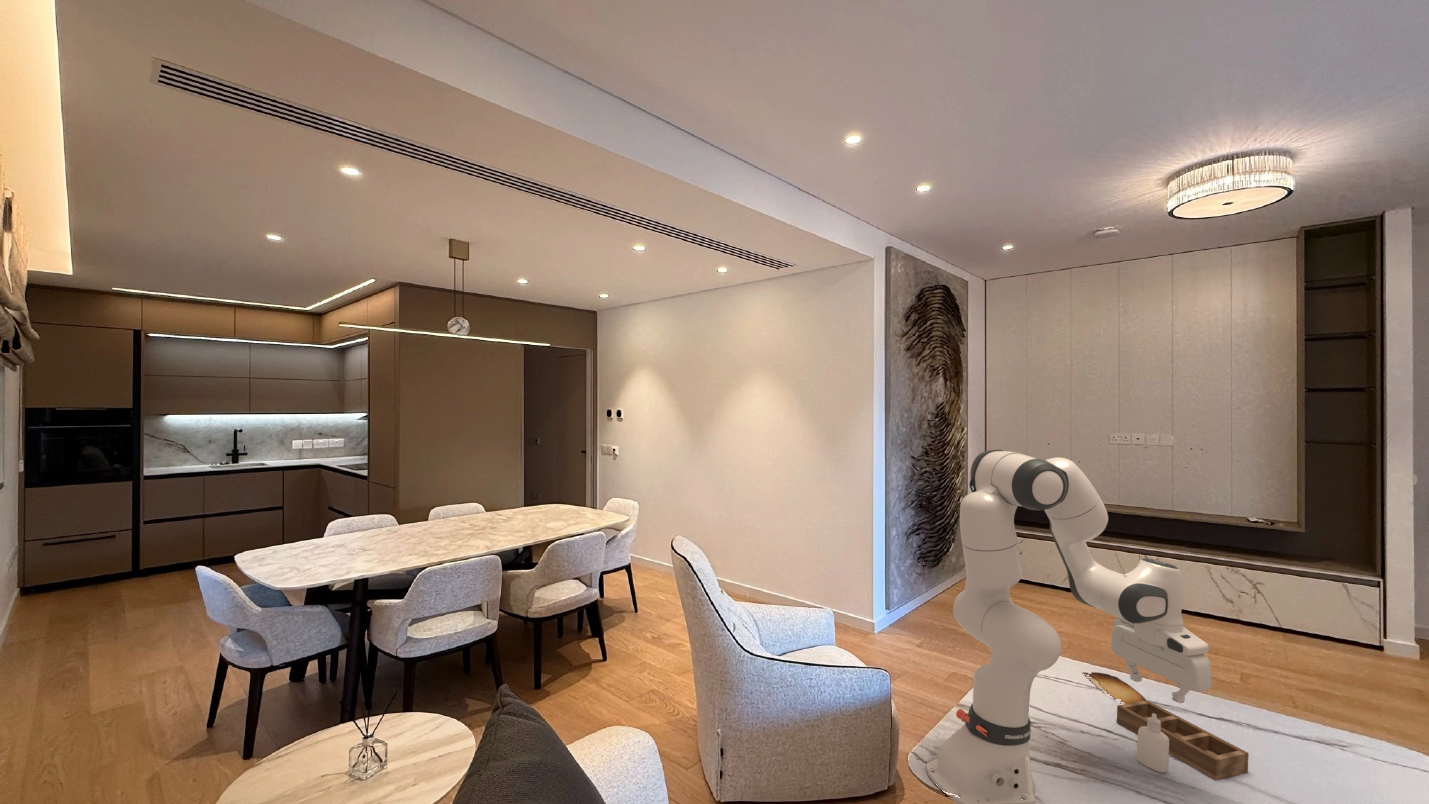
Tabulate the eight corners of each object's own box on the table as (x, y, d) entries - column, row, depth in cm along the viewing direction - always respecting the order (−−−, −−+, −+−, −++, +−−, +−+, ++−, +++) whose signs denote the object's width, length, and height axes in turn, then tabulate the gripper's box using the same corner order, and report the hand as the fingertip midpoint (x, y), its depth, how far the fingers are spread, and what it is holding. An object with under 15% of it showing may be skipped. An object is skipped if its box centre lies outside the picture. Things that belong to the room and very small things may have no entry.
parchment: (1080, 672, 176) (1080, 669, 176) (1114, 674, 175) (1114, 671, 175) (1128, 719, 151) (1128, 716, 151) (1168, 722, 150) (1168, 718, 150)
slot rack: (1215, 780, 127) (1216, 760, 127) (1116, 722, 148) (1117, 705, 148) (1247, 772, 130) (1248, 753, 130) (1146, 717, 151) (1146, 700, 151)
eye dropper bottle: (1149, 757, 134) (1151, 706, 134) (1172, 773, 129) (1174, 720, 129) (1133, 758, 134) (1135, 708, 133) (1155, 774, 128) (1157, 721, 128)
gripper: (1104, 615, 140) (1103, 670, 140) (1196, 652, 120) (1194, 717, 120) (1124, 612, 141) (1122, 667, 142) (1217, 648, 122) (1215, 712, 122)
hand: (1156, 690), depth 131 cm, fingers open, 8 cm apart
